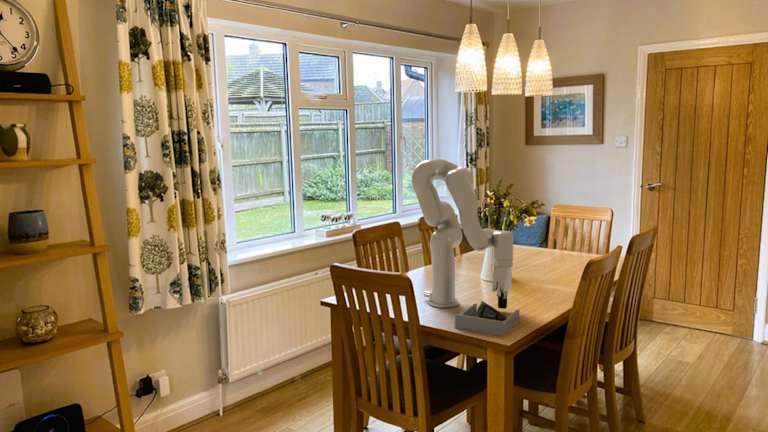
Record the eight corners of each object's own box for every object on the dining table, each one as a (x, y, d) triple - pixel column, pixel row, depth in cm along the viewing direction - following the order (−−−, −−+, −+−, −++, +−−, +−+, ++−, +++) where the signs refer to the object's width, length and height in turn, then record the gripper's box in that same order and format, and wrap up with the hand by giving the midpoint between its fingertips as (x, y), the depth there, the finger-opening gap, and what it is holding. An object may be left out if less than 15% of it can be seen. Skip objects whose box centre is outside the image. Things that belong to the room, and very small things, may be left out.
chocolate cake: (513, 320, 219) (492, 295, 223) (509, 320, 213) (489, 294, 217) (493, 335, 221) (474, 310, 225) (490, 336, 215) (470, 310, 219)
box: (454, 327, 210) (454, 314, 209) (474, 313, 226) (474, 300, 225) (502, 336, 201) (502, 322, 200) (519, 320, 217) (519, 307, 216)
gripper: (500, 257, 233) (499, 301, 235) (487, 265, 220) (486, 311, 223) (518, 259, 229) (517, 304, 232) (506, 267, 216) (505, 314, 219)
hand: (502, 307), depth 227 cm, fingers closed
